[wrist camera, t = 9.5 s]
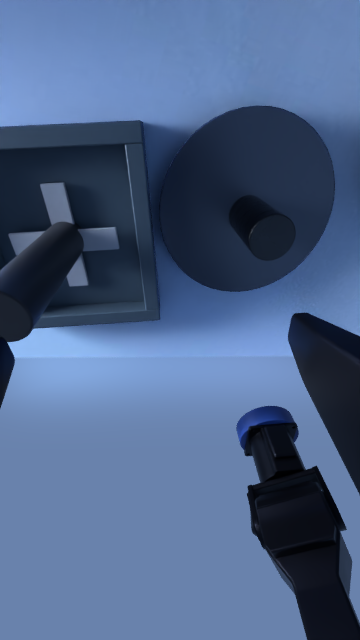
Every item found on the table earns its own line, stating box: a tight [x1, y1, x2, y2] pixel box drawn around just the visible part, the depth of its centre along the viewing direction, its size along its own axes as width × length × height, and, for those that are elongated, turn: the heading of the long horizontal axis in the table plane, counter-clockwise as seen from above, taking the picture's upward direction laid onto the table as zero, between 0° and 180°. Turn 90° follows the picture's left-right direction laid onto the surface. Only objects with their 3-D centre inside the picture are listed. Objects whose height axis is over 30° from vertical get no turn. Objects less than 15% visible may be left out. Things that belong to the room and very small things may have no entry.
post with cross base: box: [0, 182, 119, 342], centre depth 15 cm, size 7×7×10 cm
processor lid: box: [160, 106, 335, 292], centre depth 17 cm, size 11×11×6 cm
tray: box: [0, 120, 160, 329], centre depth 19 cm, size 12×12×2 cm
